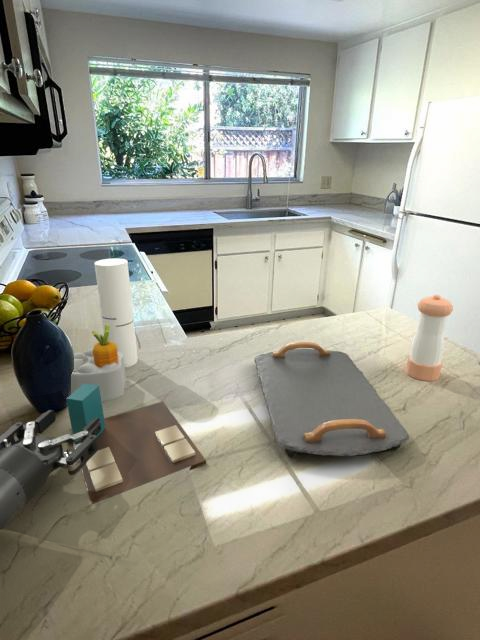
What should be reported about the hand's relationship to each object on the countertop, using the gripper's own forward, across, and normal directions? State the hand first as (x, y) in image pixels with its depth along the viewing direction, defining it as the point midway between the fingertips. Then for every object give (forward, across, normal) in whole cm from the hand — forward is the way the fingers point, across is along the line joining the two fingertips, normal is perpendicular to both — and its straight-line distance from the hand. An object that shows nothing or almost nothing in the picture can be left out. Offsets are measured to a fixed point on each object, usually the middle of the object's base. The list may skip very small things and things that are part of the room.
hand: (75, 418), depth 66 cm
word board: (+3, -8, +6) cm, 11 cm away
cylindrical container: (+31, +10, +7) cm, 33 cm away
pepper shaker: (+43, -61, +7) cm, 75 cm away
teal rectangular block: (+3, 0, +6) cm, 6 cm away
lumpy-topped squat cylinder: (+17, +8, +7) cm, 20 cm away
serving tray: (+25, -38, +7) cm, 46 cm away
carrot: (+18, +5, +6) cm, 19 cm away
